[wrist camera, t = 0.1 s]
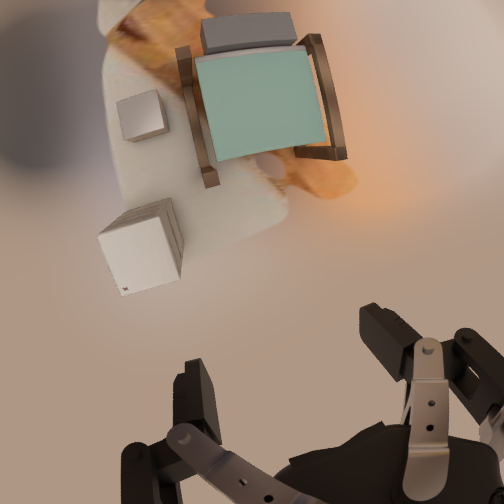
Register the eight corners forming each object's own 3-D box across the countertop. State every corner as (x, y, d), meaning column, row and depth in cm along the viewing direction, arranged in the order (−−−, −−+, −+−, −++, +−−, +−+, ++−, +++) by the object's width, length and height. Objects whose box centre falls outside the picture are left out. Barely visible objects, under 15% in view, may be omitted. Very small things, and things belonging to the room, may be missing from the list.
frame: (180, 80, 32) (174, 48, 20) (285, 63, 33) (320, 33, 22) (202, 177, 37) (205, 188, 26) (304, 155, 39) (347, 159, 27)
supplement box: (185, 244, 40) (182, 283, 28) (138, 257, 39) (119, 299, 27) (171, 195, 37) (160, 215, 25) (123, 210, 36) (93, 236, 25)
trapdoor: (188, 38, 23) (188, 22, 19) (288, 27, 24) (301, 12, 20) (215, 161, 29) (218, 162, 25) (315, 141, 30) (332, 141, 26)
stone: (127, 109, 32) (116, 102, 26) (162, 98, 32) (156, 89, 27) (134, 142, 34) (123, 140, 28) (169, 131, 34) (164, 127, 29)
